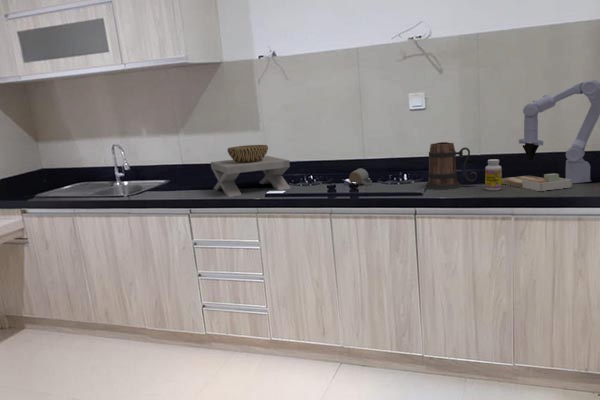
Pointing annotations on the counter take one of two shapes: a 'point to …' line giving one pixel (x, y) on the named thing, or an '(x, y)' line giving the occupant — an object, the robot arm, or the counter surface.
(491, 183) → the supplement bottle
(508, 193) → the counter surface
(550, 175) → the tile sage
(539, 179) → the tile terracotta
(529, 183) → the box
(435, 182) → the tankard
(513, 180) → the oak board
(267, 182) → the grey wooden stool
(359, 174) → the ceramic mug
